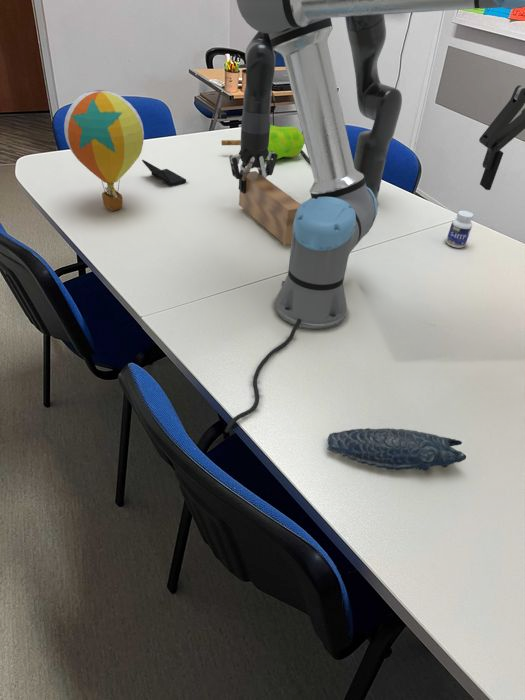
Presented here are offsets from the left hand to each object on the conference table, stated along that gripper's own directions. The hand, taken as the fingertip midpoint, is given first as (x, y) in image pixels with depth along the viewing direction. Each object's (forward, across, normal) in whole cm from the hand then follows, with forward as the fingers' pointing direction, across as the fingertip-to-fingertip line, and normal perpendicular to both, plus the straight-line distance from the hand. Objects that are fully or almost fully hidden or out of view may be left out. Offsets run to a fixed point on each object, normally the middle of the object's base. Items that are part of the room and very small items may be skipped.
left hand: (519, 188), depth 94 cm
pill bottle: (+31, -13, -38) cm, 50 cm away
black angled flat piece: (+31, +68, -78) cm, 108 cm away
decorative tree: (+31, +33, -103) cm, 113 cm away
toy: (+31, +81, -56) cm, 103 cm away
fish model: (+31, +28, +35) cm, 54 cm away
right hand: (+24, +42, -56) cm, 74 cm away
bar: (+29, +38, -46) cm, 67 cm away
